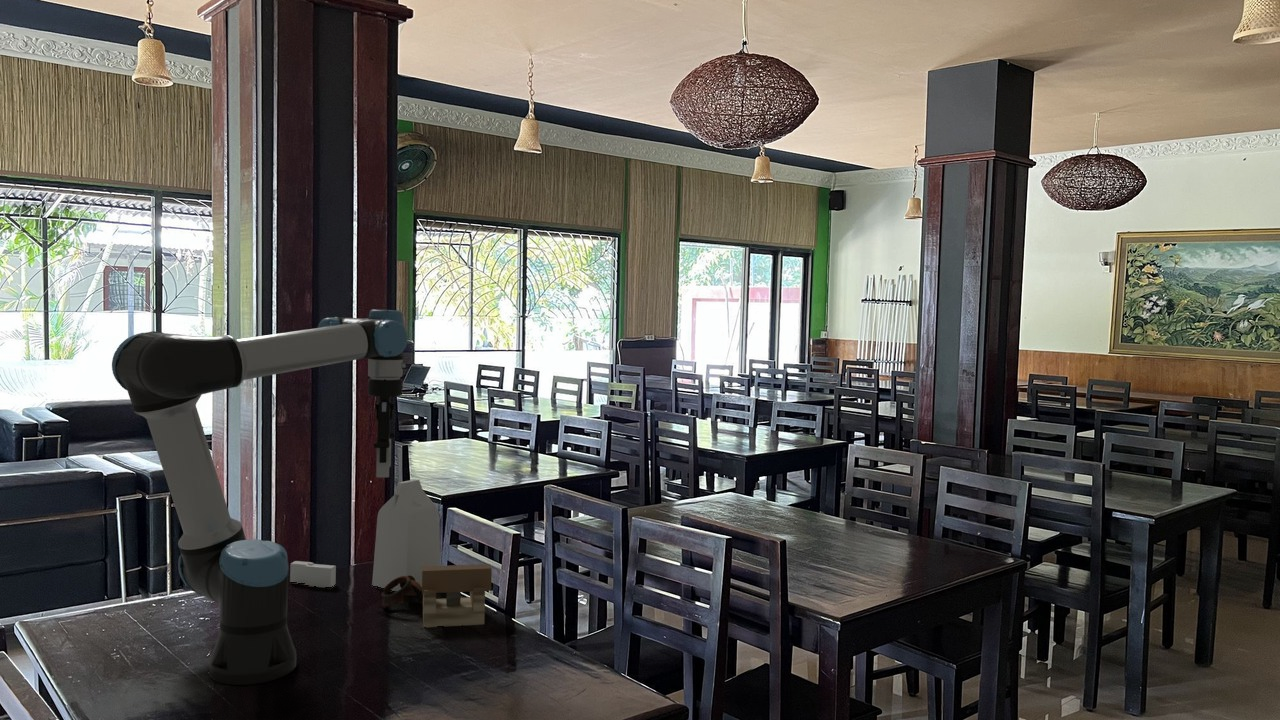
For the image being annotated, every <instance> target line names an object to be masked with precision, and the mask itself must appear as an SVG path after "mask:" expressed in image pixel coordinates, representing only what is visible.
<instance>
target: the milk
mask: <svg viewBox="0 0 1280 720" xmlns="http://www.w3.org/2000/svg"><path fill="white" fill-rule="evenodd" d="M394 492H395V493H394V495H393V496H391V497H390V499H388V500H387V501H386V502H385V504H383V505H382V506H381V508H380V509H379V510H378V513H377V516H376V517H377V518H376V532H375V543H374V545H375V546H374V556H373V557H374V559H373V568H372V581H371V586H372V585H373V586H378V587H381V588H384V587H385V586H386V585H387V584H388V583H390V582H391V581H393V580H394V579H396V578H398V577H401V576H409V575H410V576H413V578H414V579H415V581H416V582H418V583H419V584H420V586H421V587H422V566H441V542H440V541H441V539H440V536H441V535H440V513H439V509H438V507H437V506H436V504H435V503H434V502H433V501H432V499H431V498H430V497H429V495H427V493H426V492H425V491H424V489H423V487H422V483H421V481H420V479H409V480H405V481H400V482H397V484H396V489H395V491H394ZM373 586H372V587H373ZM381 588H380V589H381ZM400 589H401V587H400V584H398V585H397V586H395V587H394V588H393V589H391V590H392V591H398V590H400ZM392 591H391V592H392Z"/></svg>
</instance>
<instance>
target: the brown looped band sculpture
mask: <svg viewBox="0 0 1280 720" xmlns="http://www.w3.org/2000/svg"><path fill="white" fill-rule="evenodd" d="M398 584H400V587H401V589H400V590H398V591H397V592H392V593H390V594H389V592H391V591H390V590H391V589H393V588H394V587H395V586H397V585H398ZM382 590H383V591H382V592H381V593H380V596H381V597H382V606H383V607H384V609H386V608H385V607H387V608H388V607H392V606H395V605H397V604H401V605H405V599H406V600H413V599H414V598H416V602H419V603H418V604H422V605H423V594H422V587H421V586H420V584H419V583H418V582H416V581H415V579H414V578H413V576H410V575H409V576H401V577H398V578H396V579H394V580H393V581H391V582H390V583H388V584H387V585H386V586H385V587H384V589H382Z"/></svg>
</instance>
